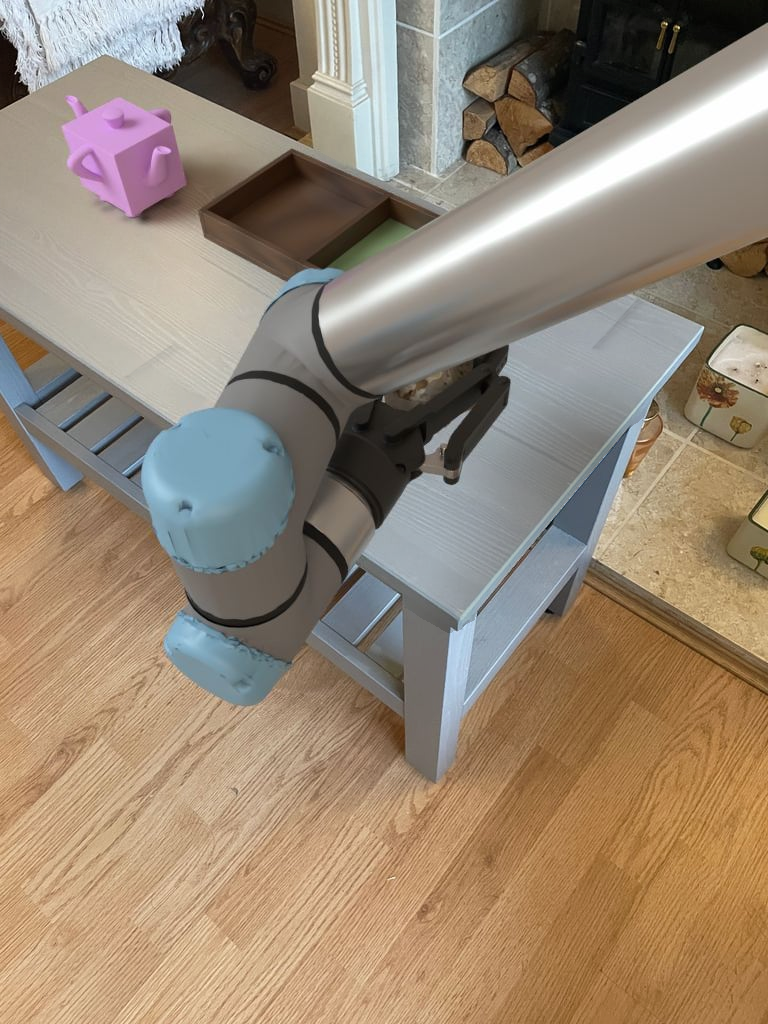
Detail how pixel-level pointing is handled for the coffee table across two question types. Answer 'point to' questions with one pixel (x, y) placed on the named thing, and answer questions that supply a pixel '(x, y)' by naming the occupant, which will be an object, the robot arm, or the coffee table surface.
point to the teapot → (124, 153)
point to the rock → (427, 388)
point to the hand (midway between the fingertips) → (471, 308)
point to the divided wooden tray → (308, 217)
